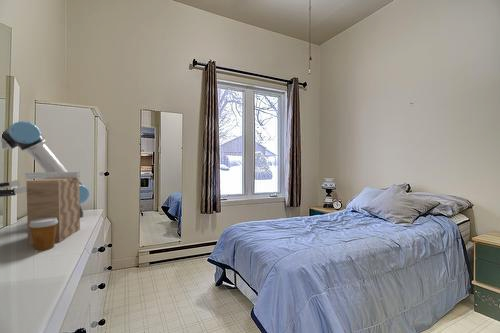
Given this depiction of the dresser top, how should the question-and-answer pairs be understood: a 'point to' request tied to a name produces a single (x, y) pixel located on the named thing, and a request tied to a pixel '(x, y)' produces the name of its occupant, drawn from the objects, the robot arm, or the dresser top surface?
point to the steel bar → (51, 175)
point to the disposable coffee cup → (43, 233)
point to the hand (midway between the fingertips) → (25, 185)
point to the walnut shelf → (54, 205)
